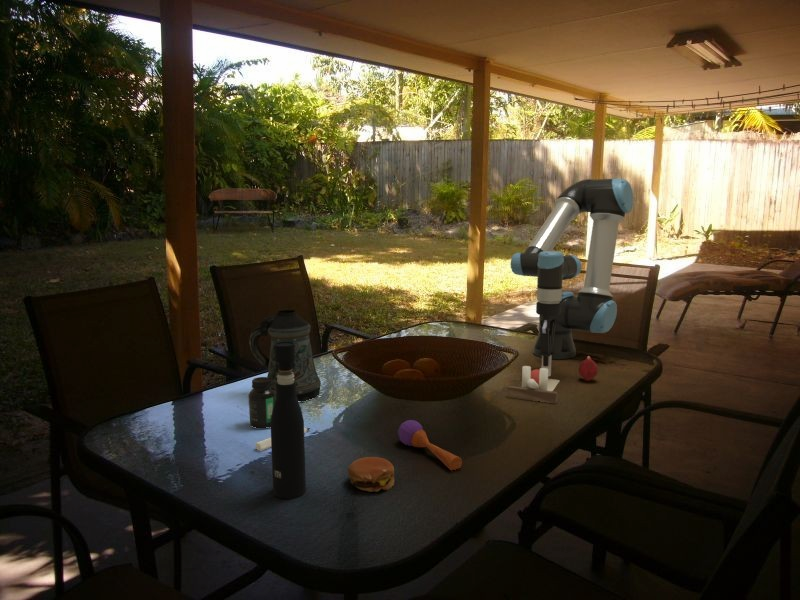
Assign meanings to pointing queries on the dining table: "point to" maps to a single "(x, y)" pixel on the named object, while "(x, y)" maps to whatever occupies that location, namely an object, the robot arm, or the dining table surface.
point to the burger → (371, 474)
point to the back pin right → (526, 376)
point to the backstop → (532, 394)
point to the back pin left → (543, 379)
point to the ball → (535, 375)
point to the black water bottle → (287, 429)
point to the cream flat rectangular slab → (552, 384)
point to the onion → (588, 369)
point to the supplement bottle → (261, 402)
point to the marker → (269, 442)
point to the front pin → (532, 384)
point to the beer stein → (297, 331)
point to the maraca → (426, 443)
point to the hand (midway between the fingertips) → (546, 375)
